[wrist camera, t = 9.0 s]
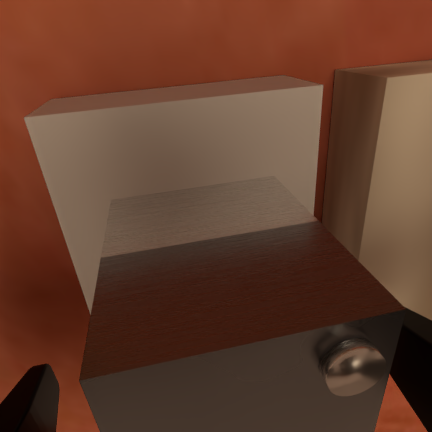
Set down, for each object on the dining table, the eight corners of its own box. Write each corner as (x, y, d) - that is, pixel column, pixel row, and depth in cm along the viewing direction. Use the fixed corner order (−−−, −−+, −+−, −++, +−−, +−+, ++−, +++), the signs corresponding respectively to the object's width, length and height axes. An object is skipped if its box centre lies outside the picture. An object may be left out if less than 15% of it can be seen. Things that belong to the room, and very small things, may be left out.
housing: (274, 175, 11) (420, 323, 5) (272, 334, 14) (359, 527, 8) (110, 199, 10) (75, 400, 4) (150, 361, 13) (158, 589, 8)
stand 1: (283, 75, 12) (323, 84, 10) (278, 319, 18) (302, 366, 15) (50, 98, 11) (24, 117, 8) (124, 351, 17) (122, 408, 14)
